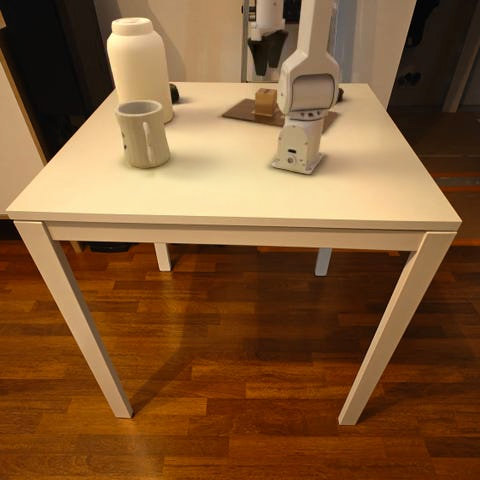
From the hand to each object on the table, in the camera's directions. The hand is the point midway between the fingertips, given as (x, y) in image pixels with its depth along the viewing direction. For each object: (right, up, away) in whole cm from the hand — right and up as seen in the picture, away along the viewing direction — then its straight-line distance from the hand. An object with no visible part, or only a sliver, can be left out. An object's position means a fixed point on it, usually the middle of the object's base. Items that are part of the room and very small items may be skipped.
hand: (267, 71), depth 86 cm
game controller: (+18, +1, +15) cm, 23 cm away
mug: (-25, -27, -13) cm, 39 cm away
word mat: (+4, -8, +5) cm, 10 cm away
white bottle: (-29, -9, +5) cm, 31 cm away
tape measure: (-26, 0, +14) cm, 30 cm away
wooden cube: (0, -6, +6) cm, 9 cm away
